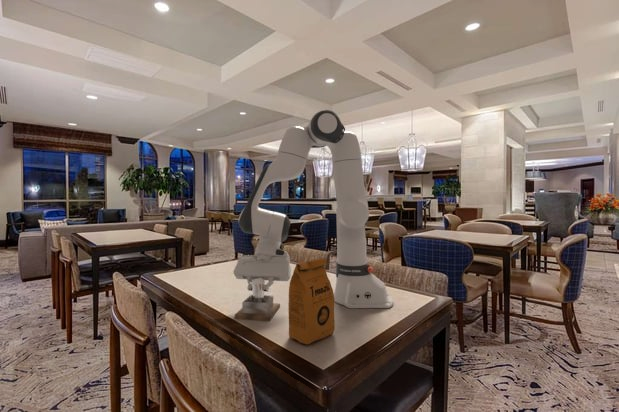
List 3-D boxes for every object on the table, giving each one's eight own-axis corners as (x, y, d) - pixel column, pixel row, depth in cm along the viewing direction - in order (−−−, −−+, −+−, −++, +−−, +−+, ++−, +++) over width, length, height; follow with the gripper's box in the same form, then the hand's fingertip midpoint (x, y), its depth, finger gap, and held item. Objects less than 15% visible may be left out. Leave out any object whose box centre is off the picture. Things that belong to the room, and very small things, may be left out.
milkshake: (254, 302, 107) (252, 274, 106) (268, 303, 105) (266, 274, 105) (247, 307, 102) (246, 277, 102) (262, 308, 101) (260, 278, 101)
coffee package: (340, 336, 87) (340, 260, 86) (305, 350, 79) (305, 266, 78) (317, 324, 94) (317, 254, 93) (284, 336, 87) (283, 260, 86)
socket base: (280, 307, 109) (280, 294, 109) (270, 320, 97) (269, 306, 97) (248, 304, 111) (248, 292, 111) (234, 318, 99) (234, 304, 99)
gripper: (237, 250, 112) (226, 284, 102) (291, 251, 108) (284, 287, 99) (242, 259, 116) (231, 293, 107) (294, 261, 113) (288, 296, 104)
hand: (257, 290), depth 103 cm, fingers closed on milkshake, 4 cm apart
